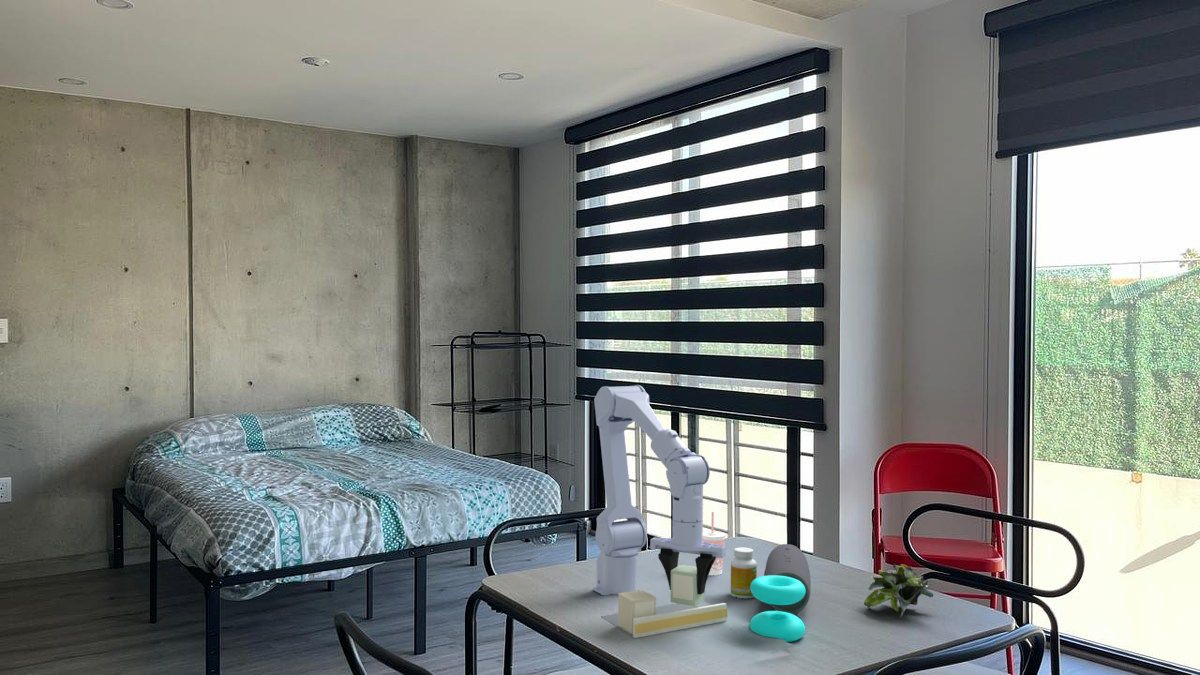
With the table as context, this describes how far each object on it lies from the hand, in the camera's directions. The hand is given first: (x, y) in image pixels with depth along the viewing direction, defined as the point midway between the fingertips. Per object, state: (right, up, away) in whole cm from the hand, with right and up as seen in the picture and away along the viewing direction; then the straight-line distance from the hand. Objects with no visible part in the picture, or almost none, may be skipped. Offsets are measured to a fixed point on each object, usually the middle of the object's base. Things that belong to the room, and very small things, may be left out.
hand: (687, 590), depth 167 cm
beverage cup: (+9, -6, +36) cm, 37 cm away
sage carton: (0, -2, 0) cm, 2 cm away
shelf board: (-4, -7, 0) cm, 8 cm away
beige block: (-10, -5, -5) cm, 12 cm away
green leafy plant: (+43, -7, +8) cm, 45 cm away
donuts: (+16, -7, -5) cm, 18 cm away
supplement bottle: (+14, -7, +19) cm, 24 cm away
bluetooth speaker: (+22, -7, +14) cm, 27 cm away
